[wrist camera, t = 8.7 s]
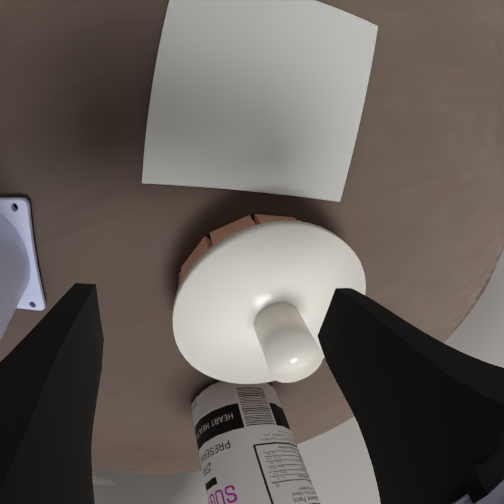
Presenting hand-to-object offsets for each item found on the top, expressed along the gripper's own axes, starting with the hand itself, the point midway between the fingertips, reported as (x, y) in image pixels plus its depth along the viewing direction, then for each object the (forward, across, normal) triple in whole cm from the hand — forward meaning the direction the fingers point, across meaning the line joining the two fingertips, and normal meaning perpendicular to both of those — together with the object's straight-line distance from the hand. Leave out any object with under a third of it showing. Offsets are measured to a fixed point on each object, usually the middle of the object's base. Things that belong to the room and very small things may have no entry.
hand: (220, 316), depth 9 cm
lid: (+7, -5, +6) cm, 10 cm away
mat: (+10, -3, -7) cm, 12 cm away
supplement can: (+10, -5, +19) cm, 22 cm away
